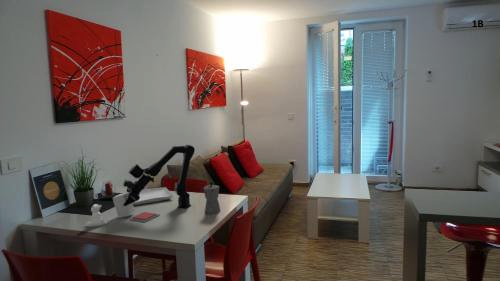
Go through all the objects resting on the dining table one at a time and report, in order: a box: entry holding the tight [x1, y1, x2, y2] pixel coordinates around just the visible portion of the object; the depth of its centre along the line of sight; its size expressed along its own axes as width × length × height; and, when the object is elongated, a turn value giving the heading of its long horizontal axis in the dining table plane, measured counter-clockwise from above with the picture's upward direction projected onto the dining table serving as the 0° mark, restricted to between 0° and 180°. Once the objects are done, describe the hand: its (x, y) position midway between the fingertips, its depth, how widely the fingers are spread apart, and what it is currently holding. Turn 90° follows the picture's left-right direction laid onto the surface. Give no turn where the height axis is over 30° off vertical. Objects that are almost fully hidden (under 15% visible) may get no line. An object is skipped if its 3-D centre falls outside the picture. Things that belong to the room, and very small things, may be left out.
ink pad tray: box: [128, 211, 160, 223], centre depth 203 cm, size 12×12×1 cm
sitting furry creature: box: [84, 203, 105, 228], centre depth 194 cm, size 10×9×12 cm
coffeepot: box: [202, 181, 221, 215], centre depth 208 cm, size 15×9×18 cm, turn 13°
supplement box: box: [112, 191, 136, 219], centre depth 206 cm, size 7×7×13 cm
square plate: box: [132, 187, 174, 206], centre depth 243 cm, size 27×27×4 cm
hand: (123, 203), depth 206 cm, fingers closed on supplement box, 9 cm apart
